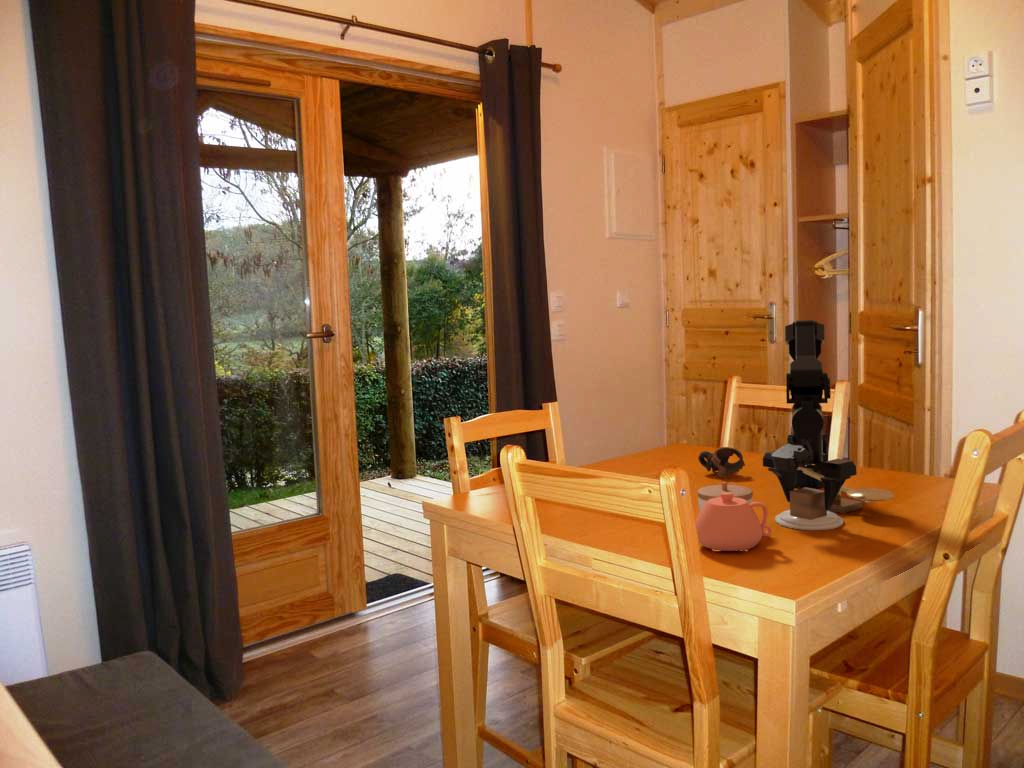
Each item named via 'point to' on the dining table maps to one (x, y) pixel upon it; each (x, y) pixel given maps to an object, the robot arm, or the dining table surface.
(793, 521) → the dish
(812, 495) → the block
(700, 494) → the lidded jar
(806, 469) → the balance
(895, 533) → the dining table surface
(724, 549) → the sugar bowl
